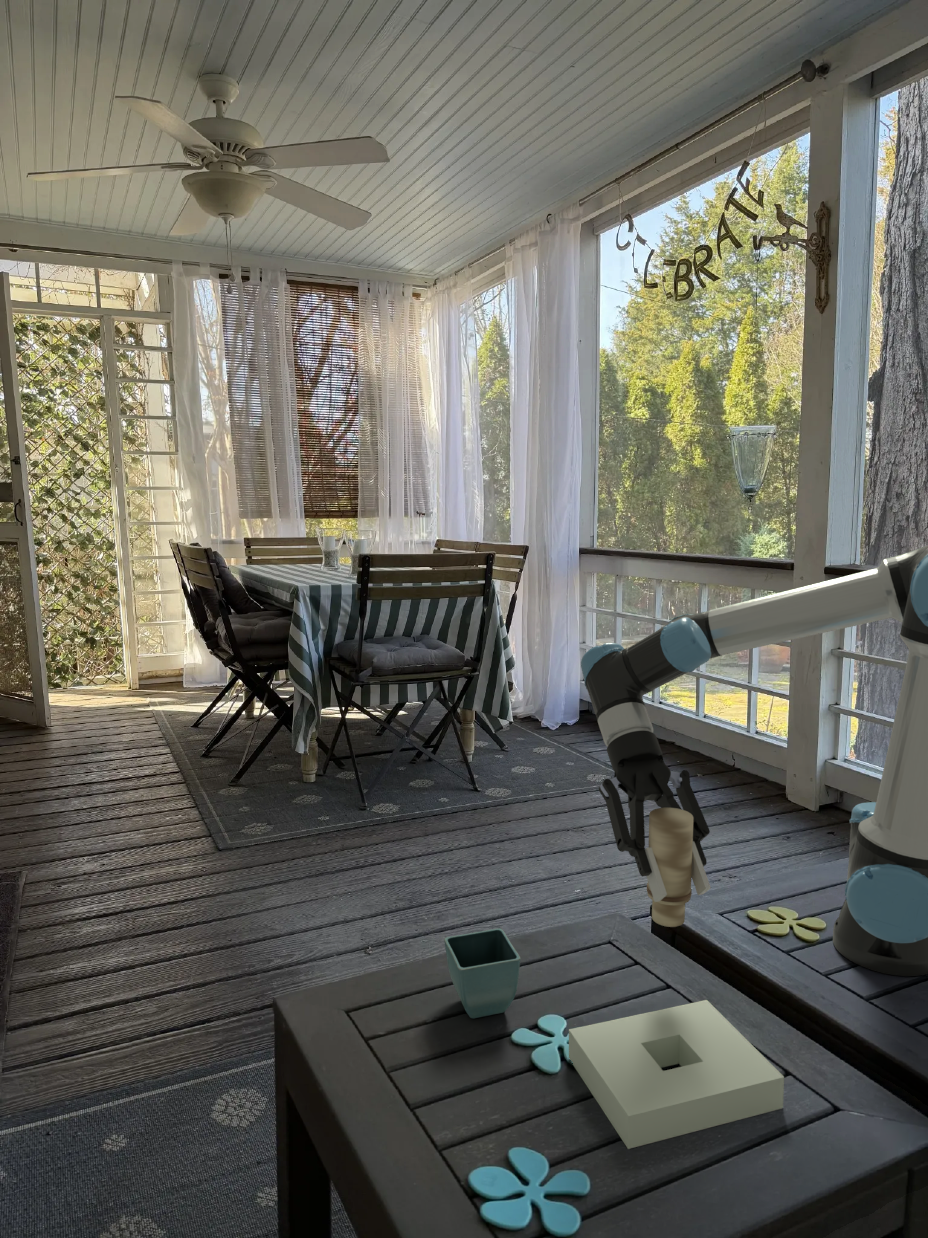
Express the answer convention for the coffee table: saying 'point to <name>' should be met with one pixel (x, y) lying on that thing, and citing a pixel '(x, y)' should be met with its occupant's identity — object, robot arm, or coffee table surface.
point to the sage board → (673, 1072)
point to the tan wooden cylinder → (671, 862)
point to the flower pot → (483, 971)
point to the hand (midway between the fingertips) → (682, 894)
